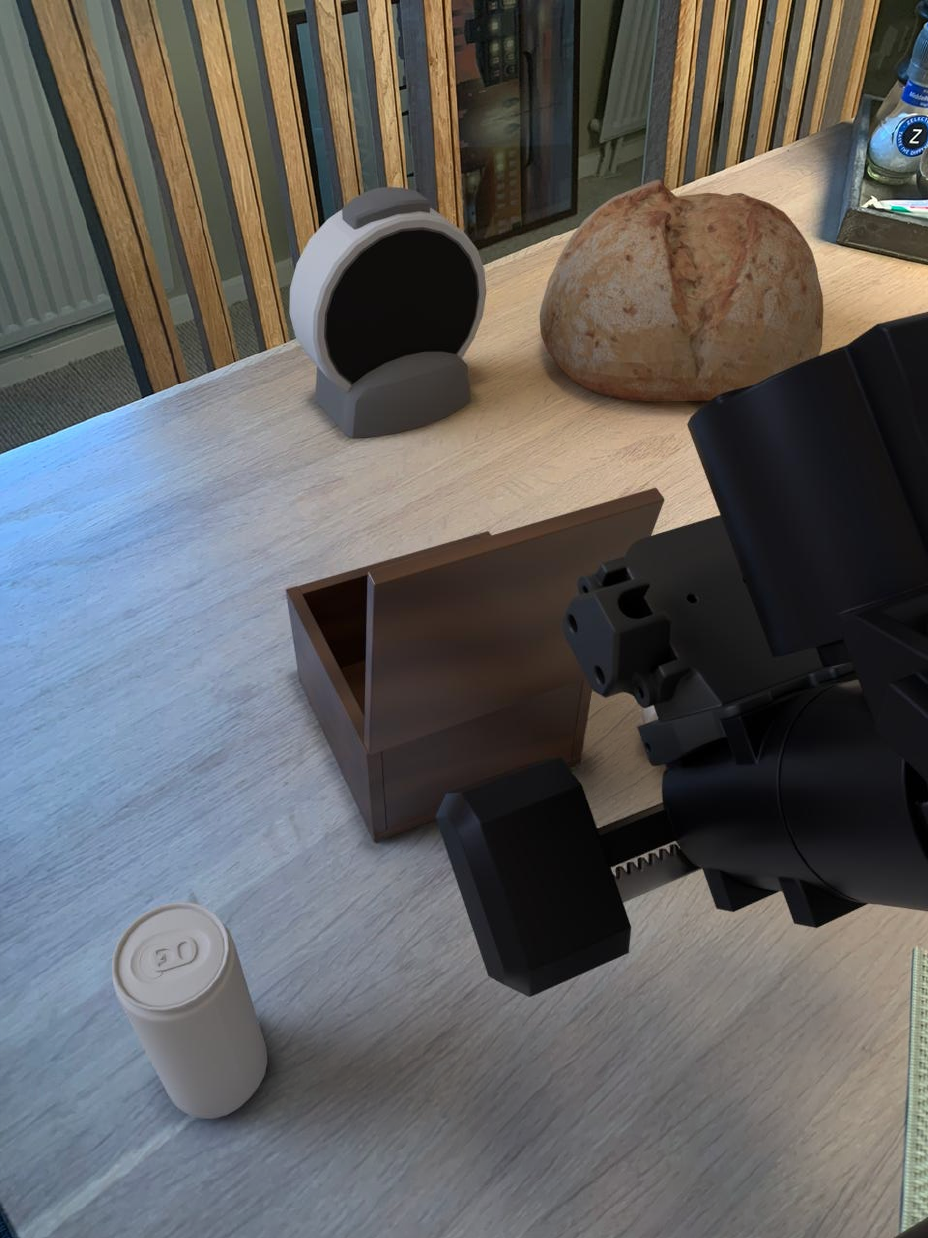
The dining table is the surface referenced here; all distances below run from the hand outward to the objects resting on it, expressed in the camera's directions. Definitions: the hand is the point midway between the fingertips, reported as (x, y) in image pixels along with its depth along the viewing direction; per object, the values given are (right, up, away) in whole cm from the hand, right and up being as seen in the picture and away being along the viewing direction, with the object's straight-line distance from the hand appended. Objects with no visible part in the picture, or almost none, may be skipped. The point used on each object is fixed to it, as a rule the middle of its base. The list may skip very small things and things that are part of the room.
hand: (623, 796), depth 40 cm
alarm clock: (-13, +27, +49) cm, 58 cm away
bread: (+14, +33, +56) cm, 66 cm away
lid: (-5, +7, +7) cm, 11 cm away
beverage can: (-18, -15, +8) cm, 25 cm away
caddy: (-8, +1, +23) cm, 25 cm away
